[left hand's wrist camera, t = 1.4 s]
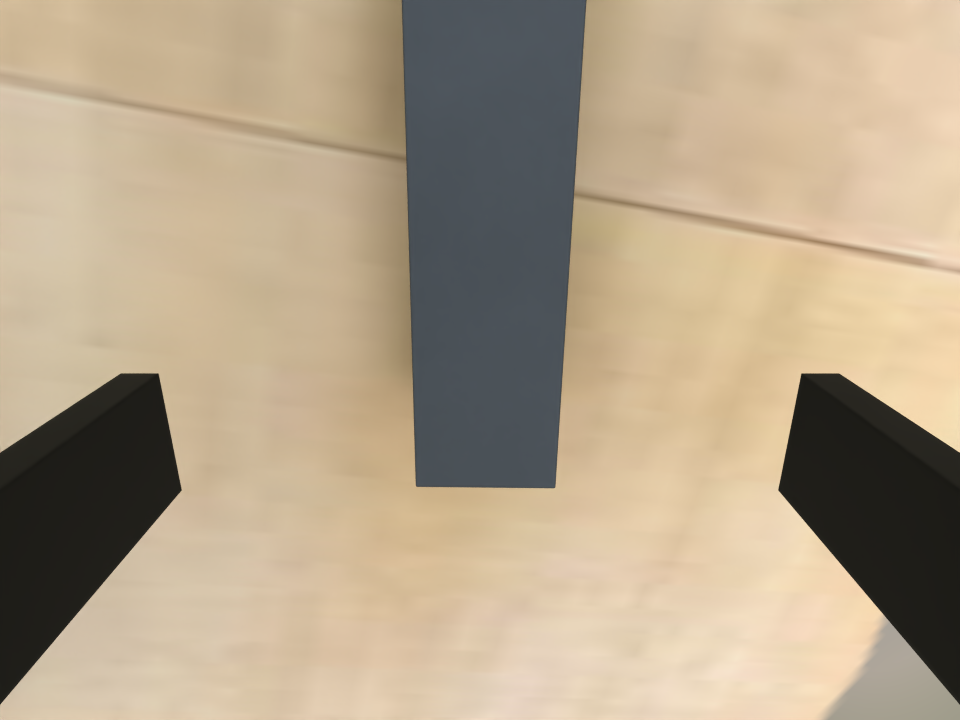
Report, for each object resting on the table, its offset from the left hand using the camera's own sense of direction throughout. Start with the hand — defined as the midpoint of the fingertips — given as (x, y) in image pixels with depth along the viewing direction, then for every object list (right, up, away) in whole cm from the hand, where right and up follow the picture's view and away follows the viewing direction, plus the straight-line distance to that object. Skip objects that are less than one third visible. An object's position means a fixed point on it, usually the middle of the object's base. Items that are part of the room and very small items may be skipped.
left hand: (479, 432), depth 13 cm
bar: (+1, +33, +5) cm, 33 cm away
